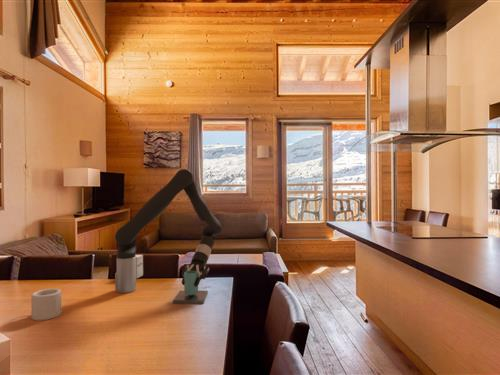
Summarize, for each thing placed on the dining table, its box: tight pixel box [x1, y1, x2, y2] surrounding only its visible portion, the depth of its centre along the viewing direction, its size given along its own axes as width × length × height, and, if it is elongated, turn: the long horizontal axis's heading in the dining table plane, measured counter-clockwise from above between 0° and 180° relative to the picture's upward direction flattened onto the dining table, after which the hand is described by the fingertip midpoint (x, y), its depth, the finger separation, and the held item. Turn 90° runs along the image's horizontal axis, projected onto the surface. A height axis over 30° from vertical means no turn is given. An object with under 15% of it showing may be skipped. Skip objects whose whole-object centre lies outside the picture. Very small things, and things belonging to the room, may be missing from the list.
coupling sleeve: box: [183, 271, 199, 295], centre depth 159 cm, size 6×6×10 cm
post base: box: [172, 290, 209, 305], centre depth 159 cm, size 14×14×10 cm
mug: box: [30, 288, 63, 321], centre depth 140 cm, size 14×11×10 cm
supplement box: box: [136, 254, 144, 280], centre depth 199 cm, size 7×7×13 cm
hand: (189, 285), depth 158 cm, fingers closed on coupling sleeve, 6 cm apart
